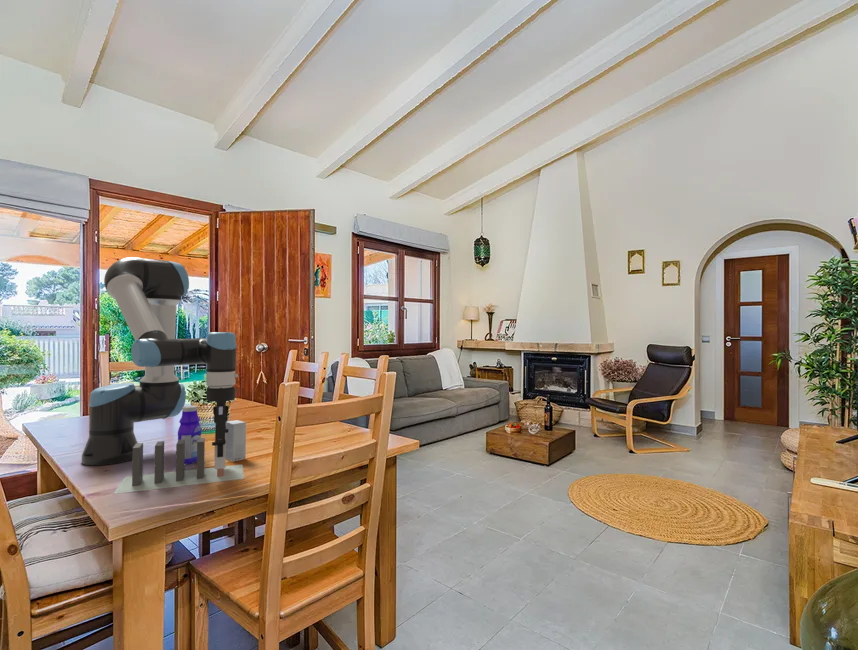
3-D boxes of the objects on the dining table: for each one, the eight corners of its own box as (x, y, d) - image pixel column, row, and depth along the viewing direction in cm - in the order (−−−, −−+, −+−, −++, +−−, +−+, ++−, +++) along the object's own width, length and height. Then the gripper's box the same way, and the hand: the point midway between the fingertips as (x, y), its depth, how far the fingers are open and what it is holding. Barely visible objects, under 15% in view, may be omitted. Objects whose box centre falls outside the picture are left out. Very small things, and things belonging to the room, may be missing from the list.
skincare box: (246, 460, 143) (246, 422, 143) (232, 462, 140) (233, 424, 140) (237, 456, 147) (237, 419, 147) (224, 459, 144) (224, 421, 144)
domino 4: (196, 479, 123) (197, 442, 123) (197, 473, 128) (198, 438, 128) (203, 478, 124) (203, 441, 124) (204, 472, 128) (204, 437, 129)
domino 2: (154, 483, 119) (154, 445, 119) (157, 478, 124) (157, 441, 124) (161, 483, 120) (161, 445, 120) (163, 477, 124) (164, 441, 125)
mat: (113, 495, 112) (113, 493, 112) (125, 478, 125) (125, 477, 125) (243, 479, 124) (243, 478, 124) (242, 465, 137) (242, 464, 137)
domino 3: (175, 481, 121) (176, 444, 121) (177, 475, 126) (178, 439, 126) (182, 480, 122) (183, 443, 122) (184, 475, 126) (184, 439, 127)
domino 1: (132, 486, 117) (132, 447, 117) (135, 480, 122) (136, 443, 122) (139, 485, 118) (139, 447, 118) (142, 479, 122) (143, 442, 122)
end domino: (217, 476, 125) (217, 440, 125) (217, 471, 130) (217, 436, 130) (223, 475, 126) (223, 440, 126) (223, 470, 131) (224, 436, 131)
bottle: (192, 466, 136) (193, 408, 136) (173, 466, 136) (174, 408, 136) (204, 459, 143) (205, 404, 144) (186, 459, 143) (187, 404, 144)
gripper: (236, 391, 118) (235, 472, 118) (235, 381, 141) (234, 449, 141) (204, 392, 115) (203, 476, 115) (208, 382, 138) (207, 452, 138)
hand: (220, 461), depth 128 cm, fingers open, 12 cm apart
